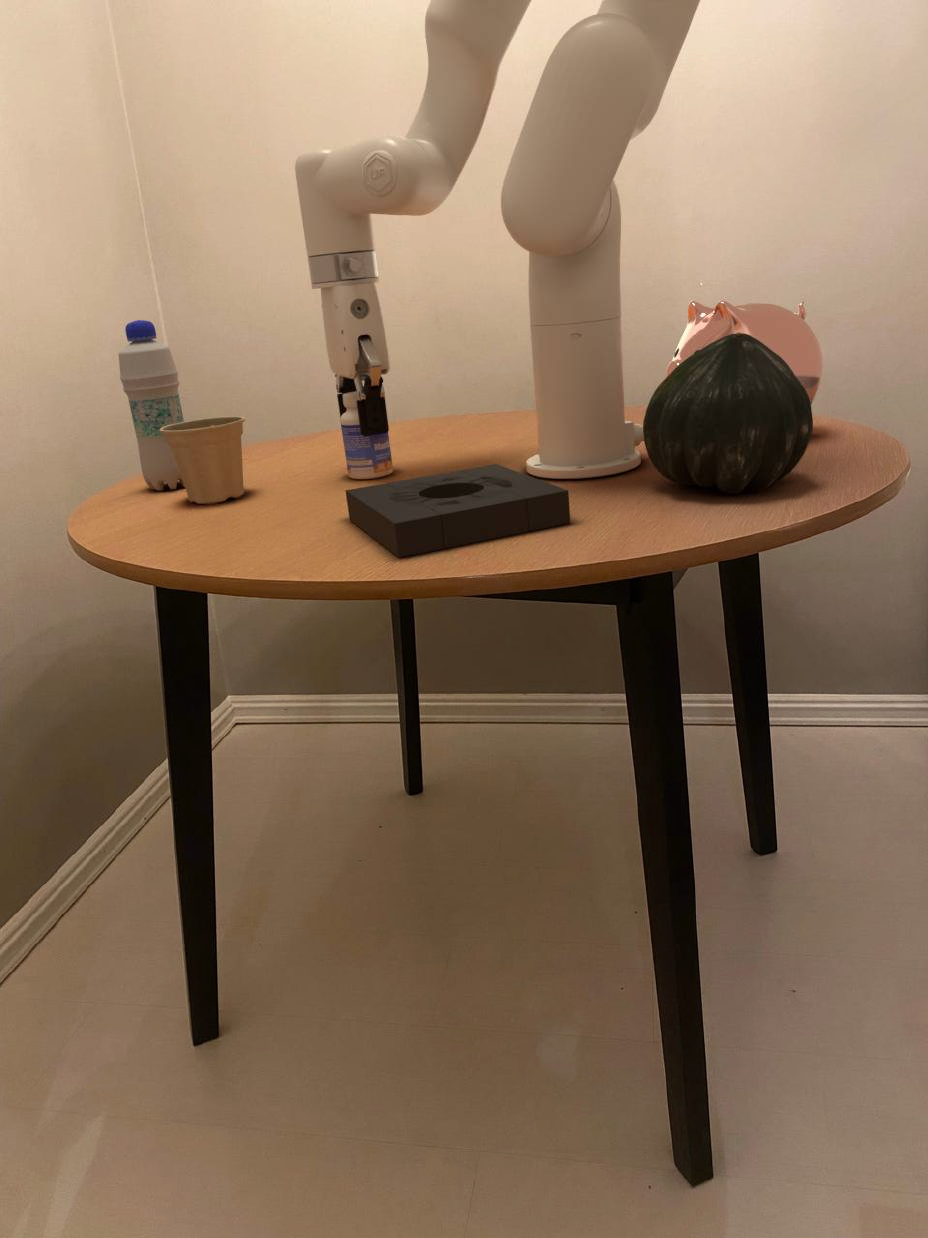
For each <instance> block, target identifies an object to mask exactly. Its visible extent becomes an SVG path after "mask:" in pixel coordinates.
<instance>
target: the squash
mask: <svg viewBox="0 0 928 1238" xmlns="http://www.w3.org/2000/svg"><path fill="white" fill-rule="evenodd" d="M642 423H643V424H642V426H643V433H644V441H643V442H644V443H643V444H644V447H645V450H646V454H647V456H648V458H649V460H650V463H651V465H652V466H653V467H654V469H655V470H657V472H658V473H659V474H660V475H662V476H663V478H665V479H667V480H669V481H671V482H673V483H677V484H681V485H689V486H693V485H696V486H699V487H702V488H709V487H712V486H715V487H717V489H718V490H720V491H721V492H723V493H727V494H730V495H734V494H739V493H740V492H742V491H743V490H746V491H749V492H758V491H762V490H764V489H766V488H768V487H770V486H771V485H772V484H773V483H775V482H777V481H778V482H779V481H780V480H782V479H784V478H785V477H786V476H788V475H789V474H790V473H791V472H792V471H793V470H794V469H795V467H796V466H797V465H798V464H799V463H800V462H801V460H802V458H803V456H804V454H805V453H806V451H807V448H808V446H809V444H810V442H811V439H812V436H813V428H814V418H813V409H812V404H811V402H810V399H809V396H808V394H807V391H806V389H805V388H804V387H803V385H802V384H801V382H800V381H799V380H798V378H797V377H796V376H795V374H794V373H793V371H792V370H791V368H790V367H789V366H788V364H787V363H786V362H785V361H784V360H783V359H782V358H781V357H780V356H779V355H777V354H776V353H775V352H773V351H772V350H771V349H769V348H768V347H767V346H766V345H764V344H763V343H762V342H760V341H759V340H757V339H756V338H754V337H752V336H751V335H748V334H744V333H736V334H731V335H728V336H725V337H723V338H720V339H718V340H716V341H714V342H712V343H710V344H709V345H707V346H706V347H704V348H702V349H701V350H699V351H698V352H696V353H694V354H693V355H691V356H690V357H689V358H687V359H686V360H684V361H683V362H682V363H681V364H680V365H678V366H677V367H676V368H675V369H674V370H673V371H672V372H671V374H670V375H668V376H667V377H666V376H665V378H664V379H663V380H662V382H661V383H660V384H659V385H658V386H657V387H656V389H655V390H654V391H653V394H652V395H651V397H650V400H649V402H648V405H647V407H646V410H645V414H644V418H643V422H642ZM811 435H812V436H811Z"/></svg>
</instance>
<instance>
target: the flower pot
mask: <svg viewBox="0 0 928 1238" xmlns="http://www.w3.org/2000/svg"><path fill="white" fill-rule="evenodd" d="M245 421H246V417H245V416H241V415H227V416H226V415H224V416H215V417H207V418H198V419H193V420H188V421H187V420H186V421H184V422H180V423H176V424H171V425H167V426H164V427H162V428H160V433H163V434H164V436H165V438H166V441H167V444H168V445H170V447H171V449H172V452H173V455H174V458H175V460H176V463H177V466H178V469H179V472H180V474H181V477H182V480H183V483H184V486H185V487H184V488H185V492H186V495H187V498H188V501H189V502H190V503H196V504H199V505H207V504H218V503H223V502H225V501H226V500H227V499H229V498H232V499H237V498H240V497H241V496H243V495H244V493H245V485H244V468H243V447H242V435H243V434H244V422H245Z"/></svg>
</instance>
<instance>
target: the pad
mask: <svg viewBox="0 0 928 1238" xmlns="http://www.w3.org/2000/svg"><path fill="white" fill-rule="evenodd" d="M569 492H570V491H569V490H568V489H565V488H563V487H561V486H558V485H556V484H552V483H550V482H547V481H544V480H542V479H539V478H536V477H534V476H530V475H529V474H528V475H527V474H526V473H522V472H519V471H516V470H514V469H511V468H508V467H506V466H503V465H500V464H497V463H492V464H488V465H482V466H476V467H471V468H465V469H460V470H459V469H458V470H453V471H447V472H442V473H436V474H431V475H425V476H419V477H413V478H408V479H402V480H396V481H390V482H386V483H385V482H384V483H380V484H374V485H373V484H372V485H368V486H363V487H362V486H361V487H356V488H351V489H350V488H349V489H347V490H345V497H346V505H347V511H348V512H347V513H348V519H349V521H350V522H352V523H353V524H354V525H356V526H357V527H358V528H359V529H360V530H362V531H363V532H365V533H366V534H367V535H369V536H370V537H371V538H372V539H374V540H375V541H377V542H378V543H379V544H380V545H382V546H383V547H384V548H386V549H387V550H388V551H389V552H390V553H392V554H394V555H395V557H397V558H398V559H400V558H401V559H402V558H406V557H411V556H415V555H422V554H426V553H431V552H435V551H440V550H444V549H451V548H455V547H461V546H465V545H470V544H476V543H480V542H485V541H490V540H495V539H500V538H506V537H511V536H514V535H519V534H524V533H529V532H534V531H539V530H544V529H548V528H554V527H558V526H565V525H568V524H571V511H570V495H569V494H570V493H569Z"/></svg>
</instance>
